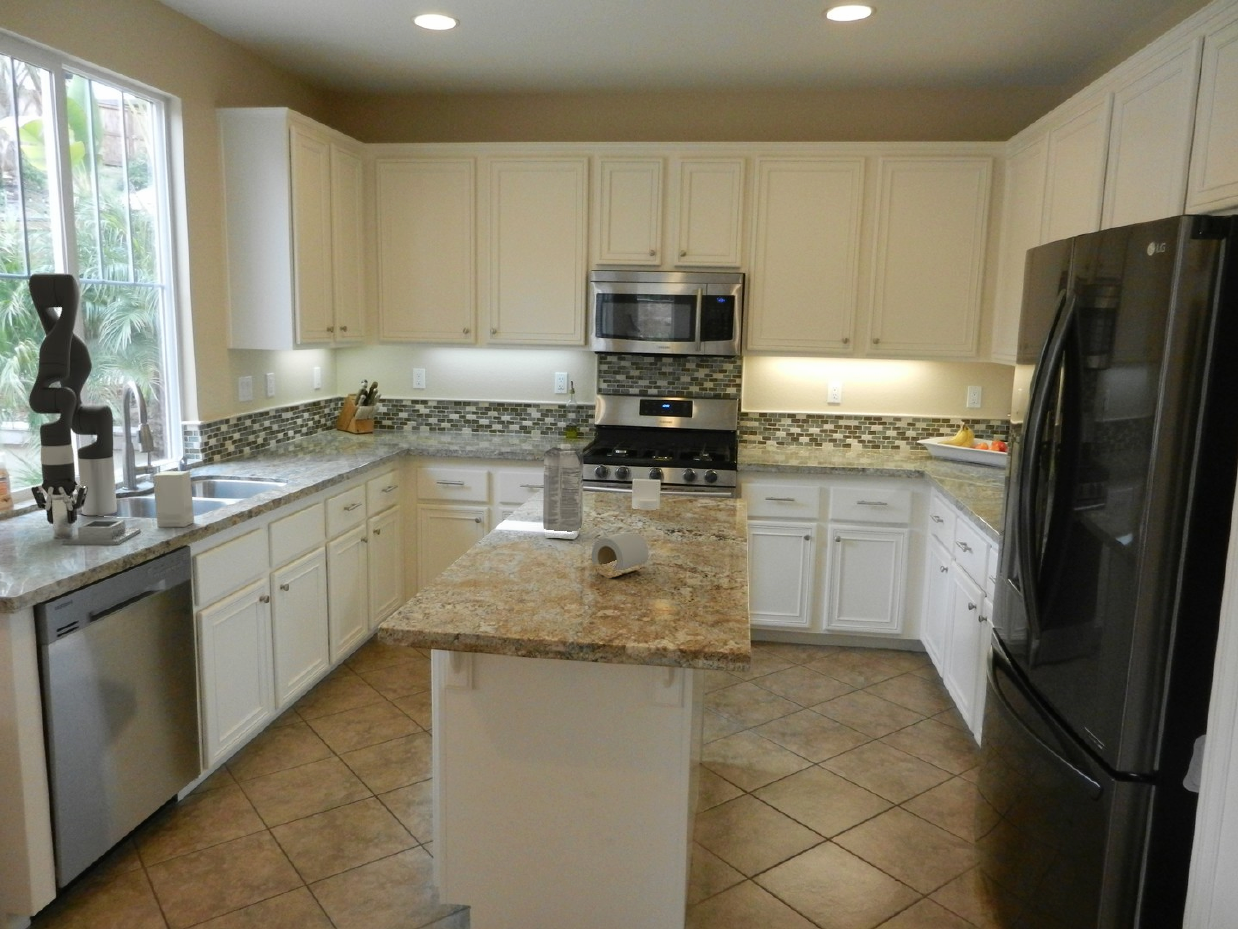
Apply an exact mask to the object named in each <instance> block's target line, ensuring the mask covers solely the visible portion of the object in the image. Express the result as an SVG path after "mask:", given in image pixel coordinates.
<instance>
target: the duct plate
mask: <svg viewBox="0 0 1238 929" xmlns="http://www.w3.org/2000/svg"><path fill="white" fill-rule="evenodd" d="M139 534H141V528H126V520H100V519H99V520H98V519H97V520H95V519H94V520H90V521H88V522H86V523H84V524H82V525H80V526H78V527H77V533H75V534H73V536H71V537H69V538H64V539H63V540H62V541H61V544H62V546H63V545H65V546H69V545H71V546H75V545H77V546H78V545H79V546H81V545H83V546H85V545H86V546H88V545H89V546H90V545H91V546H93V545H94V546H95V545H97V546H98V545H101V546H105V545H107V546H109V545H110V546H113V545H114V546H115V545H120V544H122V543H124V542H126V541H127V540H129V539H132V538H133V537H135V536H137V535H139Z"/></svg>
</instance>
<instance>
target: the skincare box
mask: <svg viewBox="0 0 1238 929" xmlns="http://www.w3.org/2000/svg"><path fill="white" fill-rule="evenodd" d="M152 481H153V491H154V492H153V493H154V503H155V513H156V523H157V527H158V528H180V527H181V528H185V527H188V526H190V525H191V524H193V523H194V522H195V515H194V503H193V494H192V493H193V492H192V479H191V471H190V470H189V471H188V470H187V471H186V470H185V471H184V470H183V471H180V470H178V471H176V470H175V471H174V470H173V471H171V470H170V471H169V470H168V471H167V470H162V471H160V472H157V473H156V474H153V475H152Z"/></svg>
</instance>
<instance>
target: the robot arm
mask: <svg viewBox="0 0 1238 929" xmlns="http://www.w3.org/2000/svg"><path fill="white" fill-rule="evenodd" d="M28 289H29V294H30V297H31V300H32V303H33V306H34V309H35V311H36V313H37V316H38V318H39V320H40V322H41V325H42V328H43V331H44V334H45V337H44V339H43V340H42V342H41V344H40V346H39V352H38V371H37V374H36V379H35V382H34V383H33V387H32V389H31V391H30V394H29V398H28V403H29V407H30V408H31V410H32V412H34V413H36V414H38V415H39V414H41V415H44V414H45V415H46V414H48V415H49V414H51V415H58V414H60V415H59V418H58V419H57V420H55V421H50V422H46V423H42V424H41V425H40V428H39V437H40V463H41V464H40V466H41V476H42V483H41V485H35V486H33V487H31V488H30V490H31V493H32V495H33V496H32V497H33V498H34V499H35V503H36V505H37V507H38V508H39V509H44V510H45V511H46V520H47V522H49V524H52V525H53V517H52V504H51V500H52V499H51V496H50V495H53V494H61V495H65V496H64V498H63V500H64V502H65V503H66V504H67V507H68V509H69V511H68V519H69V524H72V525H73V524H74V523H75V524H76V522H77V520H78V512H77V511H78V510H77V509H79V508H81V515H85V516H104V515H110V514H114V513H116V512H117V510H118V509H117V508H118V507H117V493H116V492H117V490H116V479H115V478H116V476H115V475H116V474H115V463H114V462H115V461H114V417H113V412H112V409H111V407H110V405H107V404H98V403H97V404H93V403H92V404H91V403H89V404H88V403H87V404H84V403H83V402H82V398H81V392H82V390H83V388H84V386H85V383H86V382H87V379H88V378H89V376H90V374H91V371H92V369H93V367H92V366H93V364H92V359H91V357H90V352H89V349H88V346H87V344H86V342H85V341H84V340H83V339H82V338H81V337H80V336H79V335H78V334H77V333H75V331H74V329H75V325H76V321H77V316H78V311H79V306H80V305H79V304H80V296H81V290H80V285H79V281H78V280H77V278H76V277H75V275H74V274H72V273H66V272H63V273H62V272H61V273H60V272H59V273H57V272H56V273H55V272H54V273H53V272H47V273H46V272H43V273H42V272H38V273H33V274H31V275H30V276H29V279H28ZM56 308H61V311H60V314H59V315H58V313H57V311H56ZM57 382H59V385H60V386H59V387H51V385H52V384H53V383H57ZM72 433H74V434H75V435H80V436H96V440H95V441H94V442H93V443H91V444H88V445H85V446H82V447H80V448H78V450H77V461H78V462H77V463H78V464H77V465H78V474H79V476H78V477H79V484H78V483H77V481H76V469H75V454H74V449H73V444H72V443H73V441H72ZM75 491H76V493H77V496H76V497H75V495H74V492H75ZM44 492H45V493H46V494H47V496H46V498H45V494H44ZM69 496H71V497H70V499H69Z"/></svg>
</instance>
